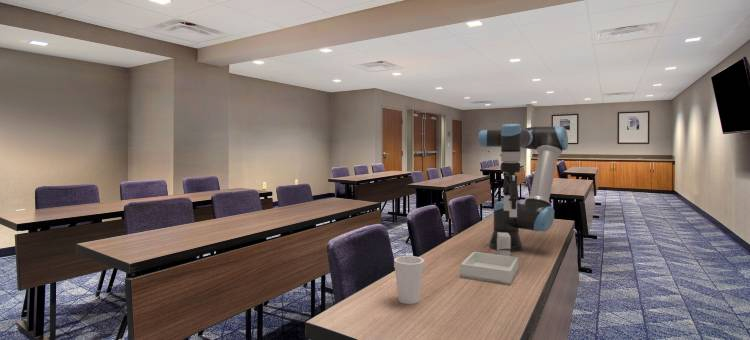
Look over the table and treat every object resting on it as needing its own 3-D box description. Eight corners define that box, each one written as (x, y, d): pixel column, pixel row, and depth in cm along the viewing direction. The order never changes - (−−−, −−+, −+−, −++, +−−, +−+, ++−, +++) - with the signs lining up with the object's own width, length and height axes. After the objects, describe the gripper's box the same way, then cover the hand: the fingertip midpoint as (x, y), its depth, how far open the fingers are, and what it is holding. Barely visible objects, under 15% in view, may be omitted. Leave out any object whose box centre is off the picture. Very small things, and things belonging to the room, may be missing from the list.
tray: (473, 263, 166) (473, 251, 165) (518, 269, 157) (518, 257, 157) (460, 277, 148) (460, 264, 148) (510, 285, 139) (510, 271, 139)
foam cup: (392, 294, 130) (392, 256, 129) (419, 294, 130) (420, 255, 130) (396, 306, 120) (396, 264, 119) (426, 305, 121) (426, 264, 120)
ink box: (510, 264, 165) (511, 236, 164) (498, 263, 166) (499, 235, 165) (507, 258, 173) (508, 232, 173) (496, 257, 174) (496, 231, 174)
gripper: (496, 160, 172) (495, 208, 174) (506, 164, 148) (505, 219, 149) (514, 160, 171) (513, 208, 173) (527, 164, 146) (526, 220, 148)
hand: (509, 213), depth 161 cm, fingers open, 13 cm apart
